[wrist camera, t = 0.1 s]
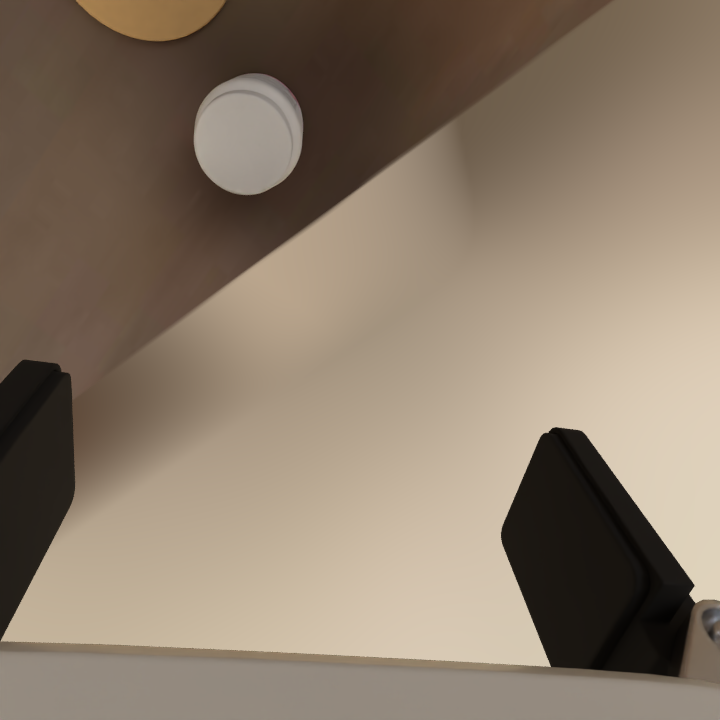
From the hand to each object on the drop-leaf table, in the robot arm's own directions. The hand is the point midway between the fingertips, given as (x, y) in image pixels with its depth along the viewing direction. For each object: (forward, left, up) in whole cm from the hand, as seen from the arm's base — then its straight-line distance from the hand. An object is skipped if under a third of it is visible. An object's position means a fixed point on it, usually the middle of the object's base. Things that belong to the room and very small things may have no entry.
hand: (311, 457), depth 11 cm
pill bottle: (-3, -3, -24) cm, 25 cm away
